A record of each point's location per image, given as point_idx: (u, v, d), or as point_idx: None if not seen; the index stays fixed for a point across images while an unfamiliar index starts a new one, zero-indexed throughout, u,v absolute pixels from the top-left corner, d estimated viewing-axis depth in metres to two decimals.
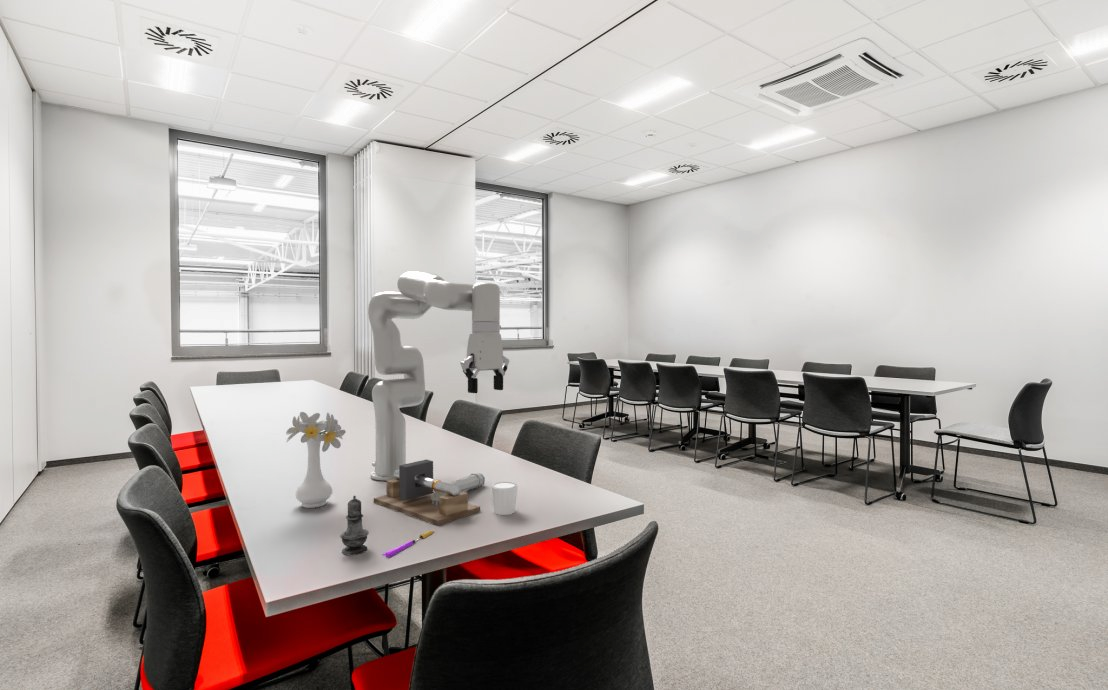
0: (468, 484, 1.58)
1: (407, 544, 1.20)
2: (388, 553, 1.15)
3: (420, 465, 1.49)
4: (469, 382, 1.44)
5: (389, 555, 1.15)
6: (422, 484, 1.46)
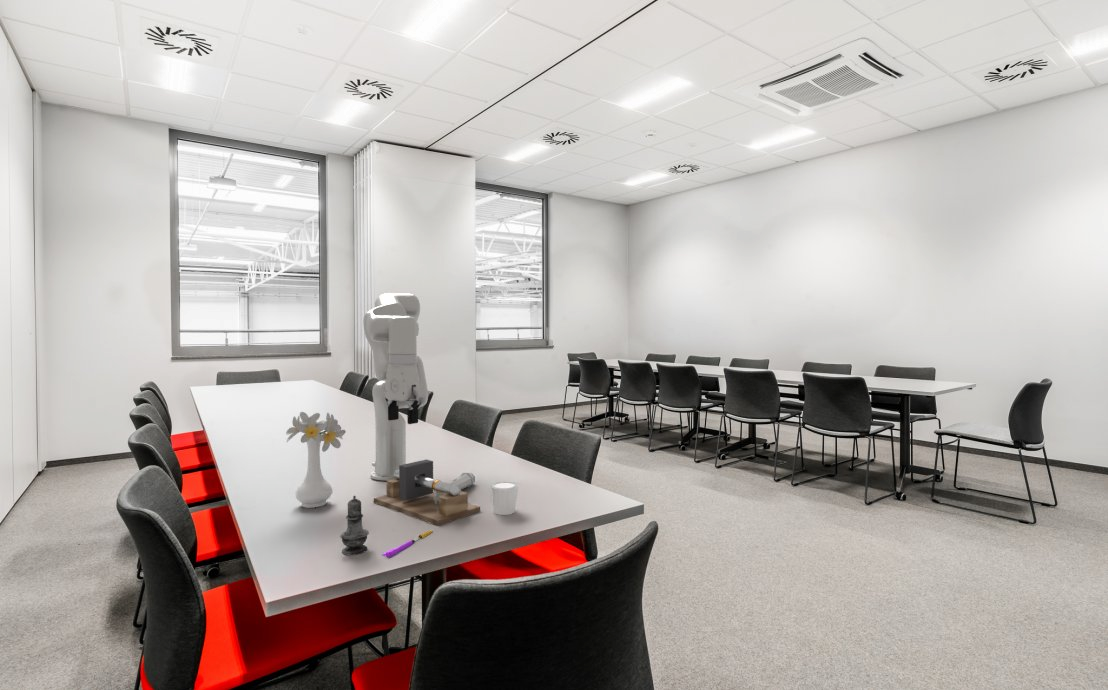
0: (463, 483, 1.59)
1: (407, 544, 1.20)
2: (388, 553, 1.15)
3: (420, 465, 1.49)
4: (414, 413, 1.50)
5: (389, 555, 1.15)
6: (422, 484, 1.46)
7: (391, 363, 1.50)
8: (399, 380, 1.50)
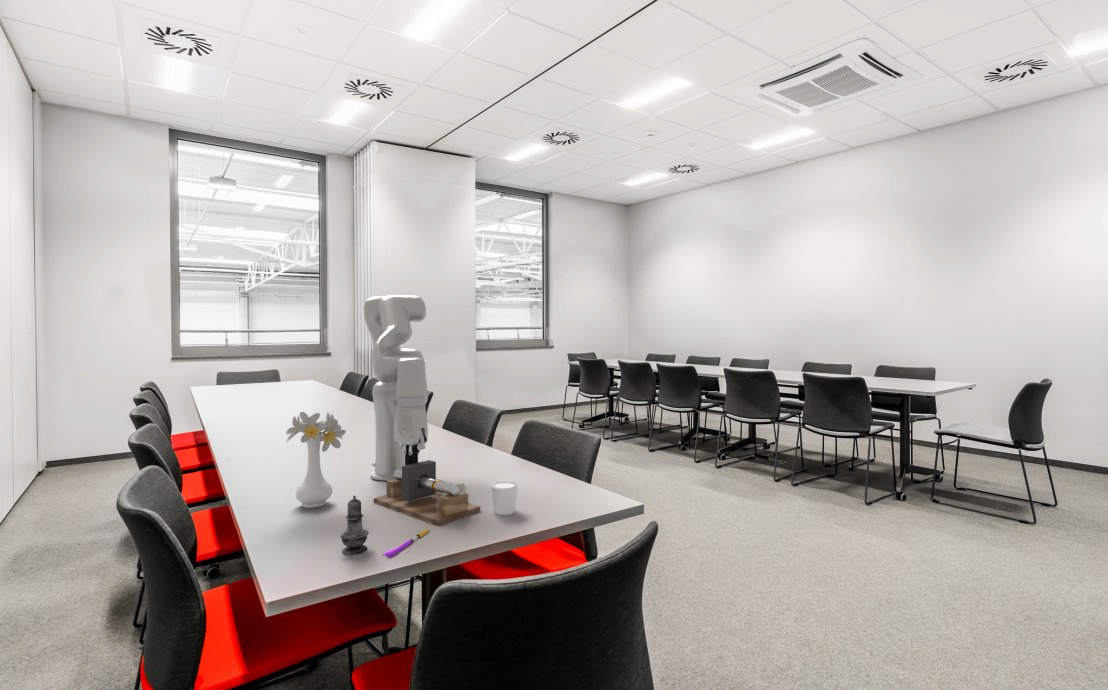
0: None
1: (406, 543, 1.20)
2: (389, 553, 1.15)
3: (423, 466, 1.48)
4: (414, 459, 1.50)
5: (391, 555, 1.15)
6: (422, 484, 1.46)
7: (399, 406, 1.48)
8: (408, 423, 1.47)
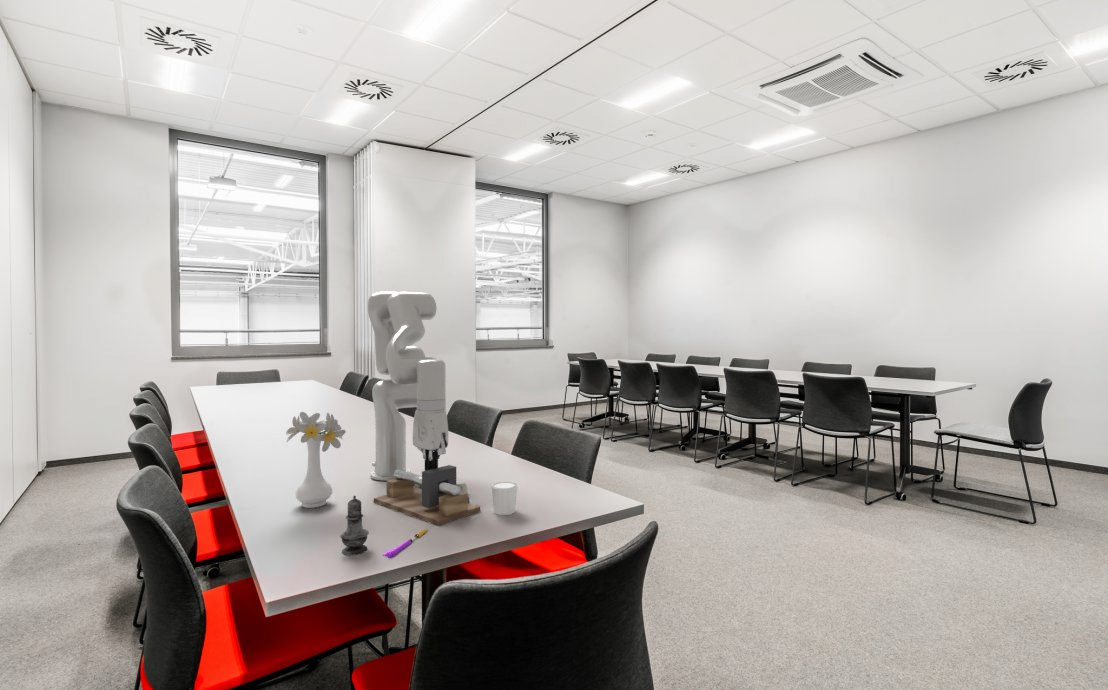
0: None
1: (406, 543, 1.20)
2: (390, 553, 1.15)
3: (443, 471, 1.43)
4: (434, 464, 1.44)
5: (391, 555, 1.15)
6: None
7: (419, 409, 1.42)
8: (428, 428, 1.42)
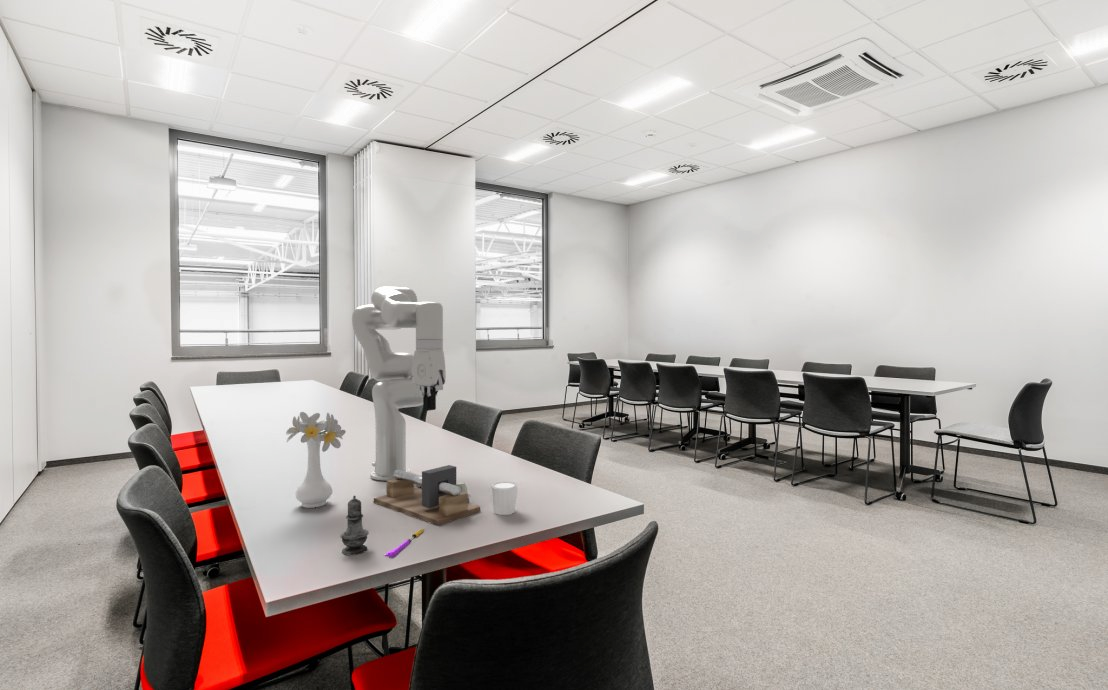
0: None
1: (405, 543, 1.20)
2: (391, 553, 1.15)
3: (443, 471, 1.43)
4: (432, 400, 1.54)
5: (392, 555, 1.15)
6: None
7: (418, 348, 1.52)
8: (426, 365, 1.51)
